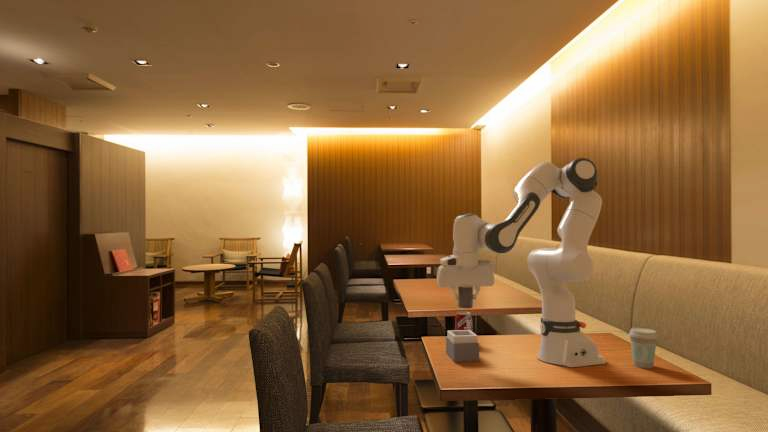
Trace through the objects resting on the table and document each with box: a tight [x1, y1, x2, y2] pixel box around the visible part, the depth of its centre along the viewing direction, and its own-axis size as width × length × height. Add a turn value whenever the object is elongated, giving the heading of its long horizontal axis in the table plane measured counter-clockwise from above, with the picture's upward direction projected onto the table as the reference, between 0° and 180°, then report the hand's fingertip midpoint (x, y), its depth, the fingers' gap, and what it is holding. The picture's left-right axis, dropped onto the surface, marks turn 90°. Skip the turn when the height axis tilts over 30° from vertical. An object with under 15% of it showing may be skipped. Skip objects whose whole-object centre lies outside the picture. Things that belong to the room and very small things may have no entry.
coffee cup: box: [628, 327, 659, 369], centre depth 158 cm, size 8×8×12 cm
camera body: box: [445, 329, 480, 363], centre depth 168 cm, size 9×11×8 cm
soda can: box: [454, 310, 474, 332], centre depth 187 cm, size 7×7×12 cm
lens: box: [457, 285, 474, 309], centre depth 165 cm, size 5×5×8 cm
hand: (465, 299), depth 165 cm, fingers closed on lens, 5 cm apart
